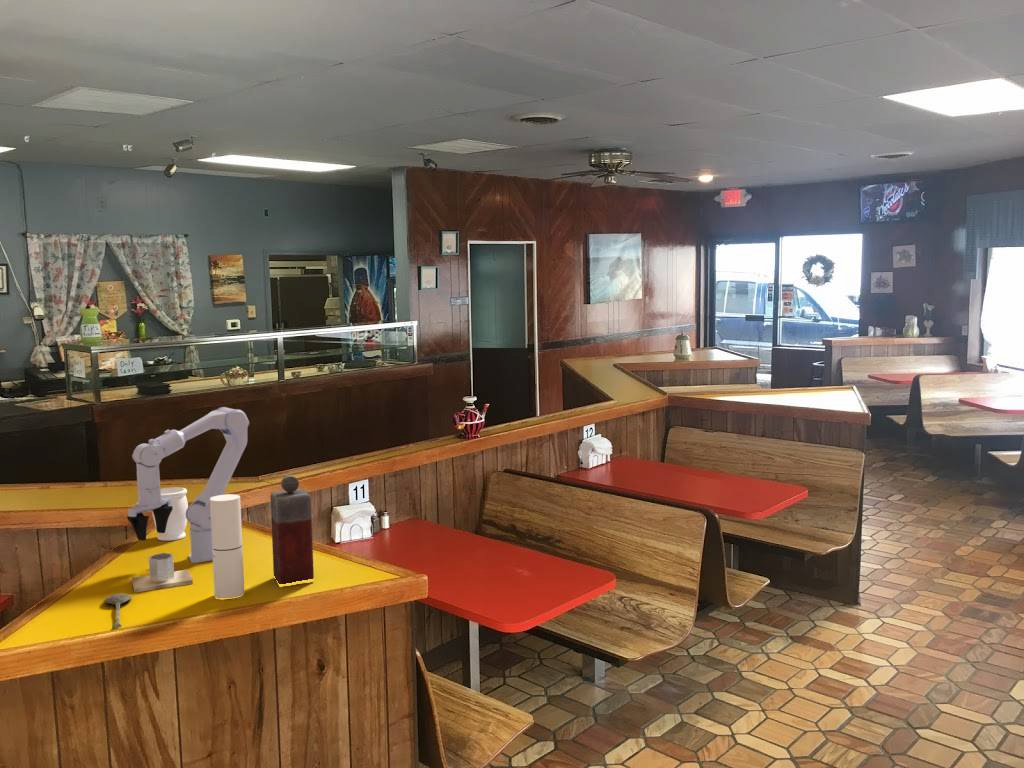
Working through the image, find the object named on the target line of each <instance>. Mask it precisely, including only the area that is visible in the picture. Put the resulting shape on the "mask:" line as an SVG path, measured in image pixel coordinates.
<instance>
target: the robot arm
mask: <svg viewBox="0 0 1024 768" xmlns="http://www.w3.org/2000/svg"><path fill="white" fill-rule="evenodd" d="M249 425H250V421H249V419H248V417H247V414H246V413H245V412H244V411H243V410H242V409H235V408H230V407H227V406H221V407H218V408H217V409H214V410H212V411H210V412H209V413H208V414H205V415H204V416H203V417H201V418H199V419H197V420H196V421H193V422H192V423H191V424H189V425H186V427H184V428H181V429H180V430H177V429H171V430H170V429H166V430H165V431H164V432H163V434H161V435H160V436H158V437H156V438H151V439H148V443H141V444H140V443H139V445H137V446H136V447H135V449H134V450H133V453H132V454H131V457H132V460H133V461H134V462H135V463H136V481H137V482H136V483H137V500H138V501H137V502H136V503H135V505H134V506H133V507H131V508H128V509H127V515H126V516H127V520H128V521H129V523H130V524H131V526H132V527H133V529H134V532H135V536H136V538H137V540H138V541H146V540H147V525H148V522H149V518H150V516H149V515H145V514H144V513H148V512H152V511H153V513H154V516H155V521H156V527H155V529H157V530H156V532H157V533H158V534H159V533H165V530H166V525H167V521H168V518H169V515H170V513H171V511H172V510H173V508H172V506H168V505H171V498H167V497H165V498H161V491H160V489H161V478H160V477H161V476H160V474H161V473H160V464H161V462H162V459H164V458H166V457H168V456H170V455H172V454H174V453H175V452H178V451H179V450H180V449H183V448H184V447H185V444H186V442H187V441H189V440H191V439H194V438H196V437H197V436H199V435H201V434H203V433H206V432H207V431H210V430H212V429H213V430H219V431H220V432H221V433H222V435H223V437H224V439H225V441H226V442H225V446H224V448H223V449H222V451H221V453H220V456H219V458H218V460H217V462H216V464H215V466H214V468H213V470H212V472H211V474H210V476H209V479H208V480H207V482H206V484H205V487H204V488H203V490H202V492H201V493H200V494H198V495H197V496H196V497H195V499H194V500H193V502H192V503H191V504H189V505H188V508H187V510H186V519H187V522H189V525H190V526H189V538H190V554H188V555H187V557H188V558H189V561H190V562H191V564H197V563H203V562H211V561H212V562H213V554H212V533H211V512H210V498H211V497H214V496H218V495H224V493H225V491H226V489H227V486H228V485H229V483H230V481H231V478H232V477H233V474H234V472H235V470H236V468H237V466H238V464H239V462H240V459H241V457H242V456H243V453H244V451H245V449H246V447H247V444H248V427H249Z"/></svg>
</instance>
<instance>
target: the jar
mask: <svg viewBox="0 0 1024 768" xmlns="http://www.w3.org/2000/svg"><path fill="white" fill-rule="evenodd" d="M160 491H161V498H165V497H167V498H171V505H168V506H172V508H173V510H172V511H171V513H170V515H169V518H168V521H167V525H166V530H165V533H158V534H157V537H156V538H157V540H159V541H162V542H170V541H171V542H172V541H177V540H181V539H182V540H183V538H185V537H186V536H187V534H186V532H185V530H186V528H187V525H188V524H187V523H188V520H187V519H186V510H187V508H188V507H189V503H188V499H187V496H186V495H187V493H188V489H187V488H186V487H178V486H177V487H176V486H175V487H163V488H160ZM151 514H152V519H153V522H154V523H153V524H154V527H155V529H156V521H155V516H154V513H153V511H152V510H151ZM156 531H157V529H156Z"/></svg>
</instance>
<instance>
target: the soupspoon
mask: <svg viewBox="0 0 1024 768" xmlns="http://www.w3.org/2000/svg"><path fill="white" fill-rule="evenodd" d="M131 599H133V596H132V595H129V594H126V593H117V594H116V593H115V594H112V595H110V596H108V597H106V598H105V599H104V600H103V602H104V603H106V604H108V603H109V604H111V605H115V614H116V615H115V616H116V619H115V620H114V624H113V625H112V629H113V628H114V629H118V628H117V627H121V628H122V625H121V623H120V621H121V620H120V615H121V614H120V613H121V612H120V611H121V609H120V608H121V605H122V604H124V603H126V602H127V601H129V600H131Z"/></svg>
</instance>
